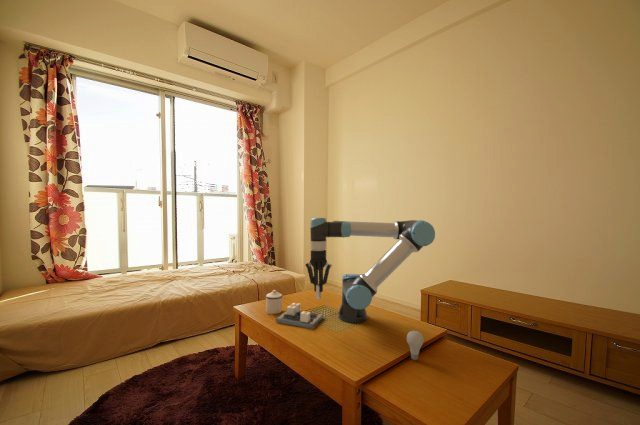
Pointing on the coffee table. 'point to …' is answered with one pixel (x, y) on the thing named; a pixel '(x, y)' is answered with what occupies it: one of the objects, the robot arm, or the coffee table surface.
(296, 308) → the breaker
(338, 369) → the coffee table surface
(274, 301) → the teacup with lid
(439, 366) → the coffee table surface
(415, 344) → the lightbulb
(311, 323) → the panel
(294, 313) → the breaker
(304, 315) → the breaker
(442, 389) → the coffee table surface
